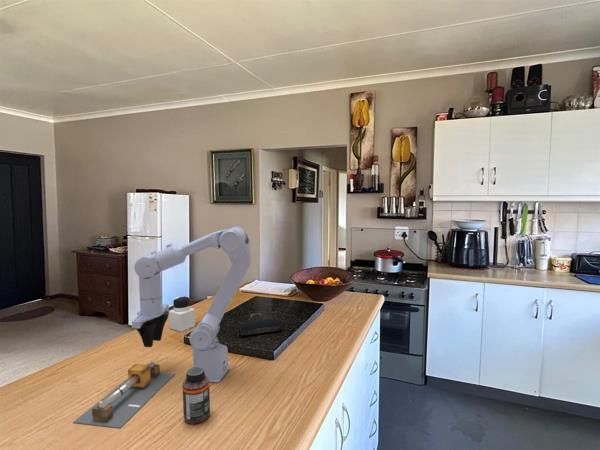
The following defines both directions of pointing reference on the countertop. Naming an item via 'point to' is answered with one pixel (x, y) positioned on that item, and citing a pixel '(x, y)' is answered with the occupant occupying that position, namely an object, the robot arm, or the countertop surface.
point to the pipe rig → (124, 400)
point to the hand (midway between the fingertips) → (152, 343)
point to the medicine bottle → (181, 314)
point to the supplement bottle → (196, 396)
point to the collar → (144, 374)
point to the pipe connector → (259, 322)
